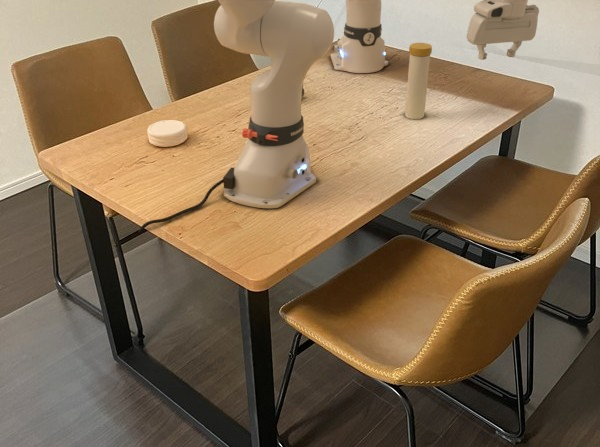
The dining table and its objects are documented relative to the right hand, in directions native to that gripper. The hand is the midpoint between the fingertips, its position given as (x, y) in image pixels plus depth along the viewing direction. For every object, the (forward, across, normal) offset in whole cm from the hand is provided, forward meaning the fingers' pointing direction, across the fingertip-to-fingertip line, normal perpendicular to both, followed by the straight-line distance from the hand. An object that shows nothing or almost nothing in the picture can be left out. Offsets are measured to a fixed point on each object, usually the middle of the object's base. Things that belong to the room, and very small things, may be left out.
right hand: (496, 57), depth 170 cm
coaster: (+19, +89, -12) cm, 92 cm away
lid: (-4, +23, -2) cm, 24 cm away
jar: (+15, +22, -1) cm, 27 cm away
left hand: (-31, +49, -7) cm, 59 cm away
